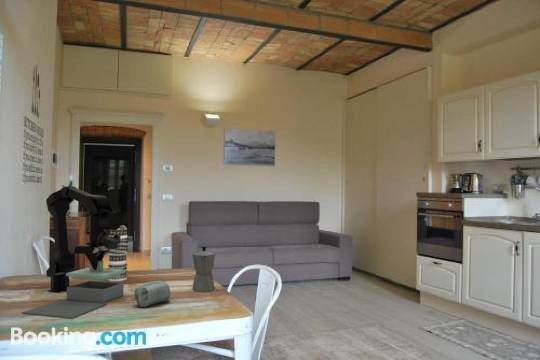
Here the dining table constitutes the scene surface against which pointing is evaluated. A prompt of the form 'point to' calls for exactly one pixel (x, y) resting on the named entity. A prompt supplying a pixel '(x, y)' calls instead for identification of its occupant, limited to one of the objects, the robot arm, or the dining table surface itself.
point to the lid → (95, 273)
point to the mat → (64, 309)
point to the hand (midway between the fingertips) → (96, 269)
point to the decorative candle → (119, 254)
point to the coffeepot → (203, 271)
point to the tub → (95, 291)
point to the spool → (152, 293)
